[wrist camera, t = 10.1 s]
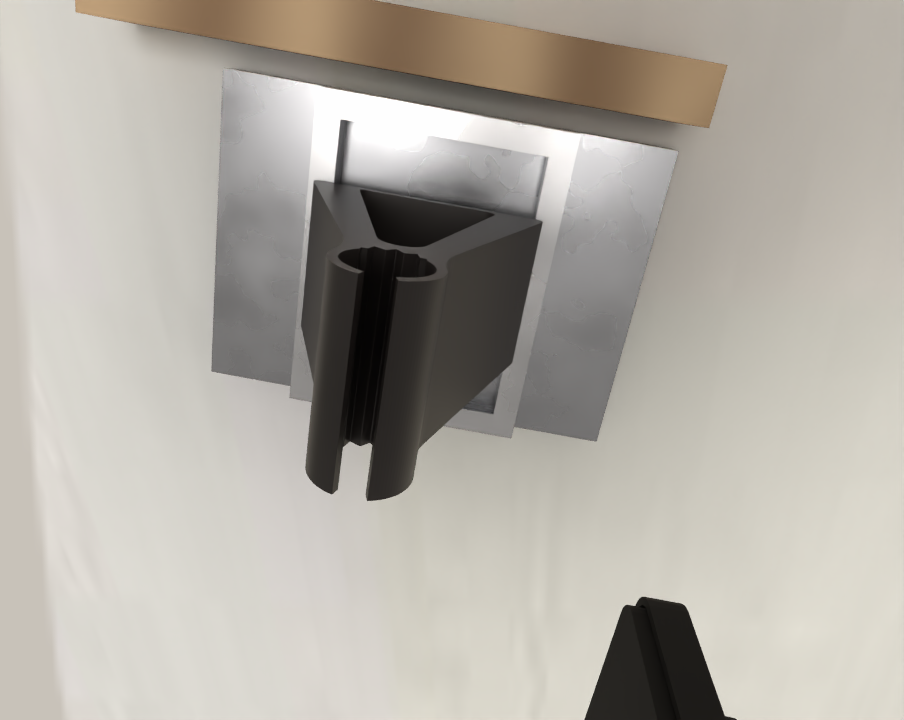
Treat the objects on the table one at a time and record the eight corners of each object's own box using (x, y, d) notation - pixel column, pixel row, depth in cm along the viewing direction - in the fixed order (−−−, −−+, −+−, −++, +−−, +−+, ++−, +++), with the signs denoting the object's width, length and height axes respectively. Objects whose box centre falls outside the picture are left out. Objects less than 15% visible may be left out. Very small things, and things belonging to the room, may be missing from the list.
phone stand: (543, 220, 26) (575, 312, 15) (511, 360, 29) (519, 530, 17) (316, 177, 26) (183, 238, 15) (302, 321, 29) (177, 466, 17)
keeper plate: (672, 149, 27) (686, 153, 25) (593, 431, 32) (600, 454, 30) (232, 68, 27) (210, 66, 25) (219, 363, 32) (200, 381, 30)
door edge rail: (694, 69, 26) (727, 65, 22) (679, 123, 27) (708, 127, 23) (134, -34, 26) (73, -56, 22) (134, 23, 27) (75, 12, 23)
